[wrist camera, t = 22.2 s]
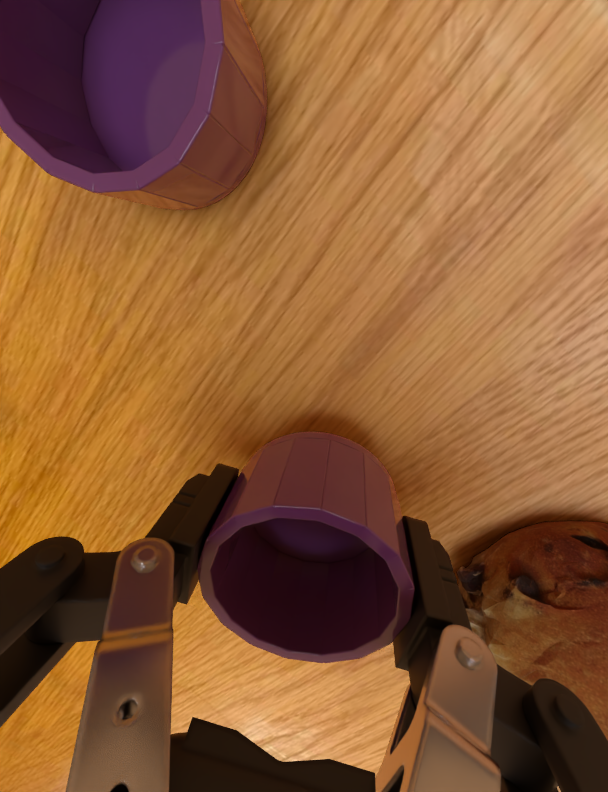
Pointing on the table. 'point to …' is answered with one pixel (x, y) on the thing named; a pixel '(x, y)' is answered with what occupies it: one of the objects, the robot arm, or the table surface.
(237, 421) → the table surface
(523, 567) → the bread roll
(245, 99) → the dish
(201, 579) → the dish
